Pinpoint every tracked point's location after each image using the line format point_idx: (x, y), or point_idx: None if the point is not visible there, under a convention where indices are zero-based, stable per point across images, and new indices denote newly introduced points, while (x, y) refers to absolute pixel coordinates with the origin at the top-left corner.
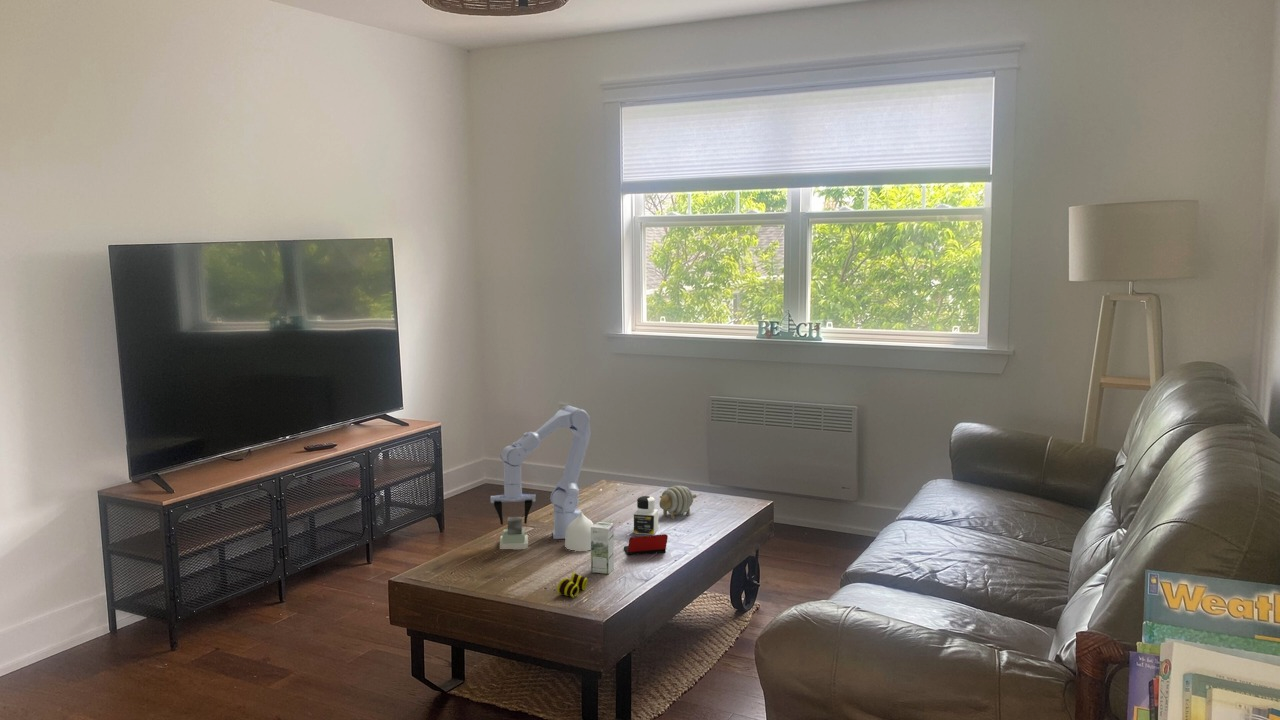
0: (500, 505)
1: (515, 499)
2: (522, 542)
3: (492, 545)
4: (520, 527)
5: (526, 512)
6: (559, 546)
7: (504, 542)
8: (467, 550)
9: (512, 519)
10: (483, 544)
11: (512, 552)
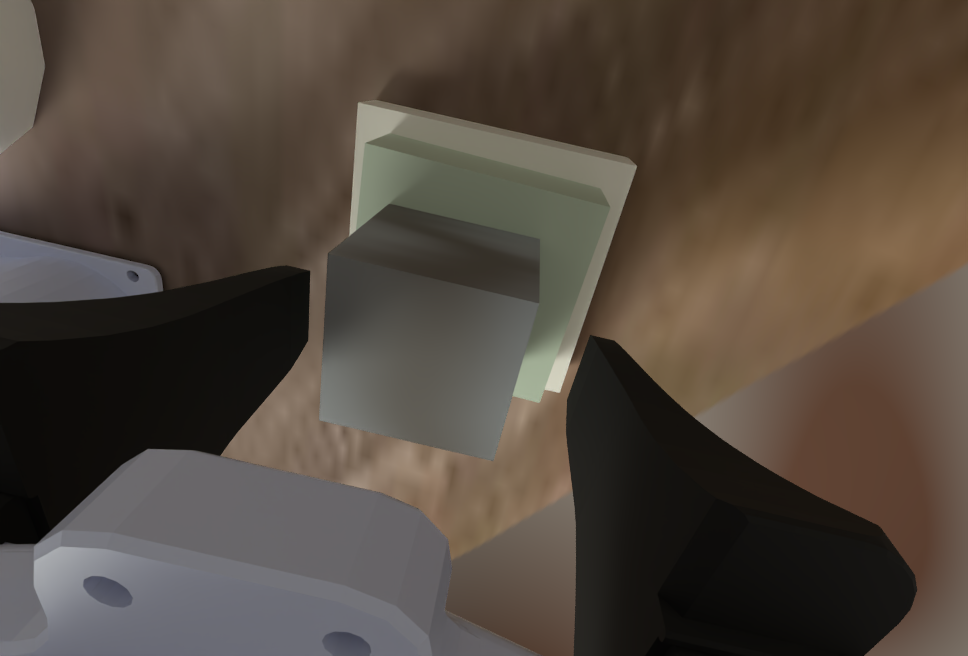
0: (753, 532)
1: (78, 514)
2: (406, 138)
3: (648, 299)
4: (376, 225)
5: (164, 304)
6: (91, 65)
7: (583, 184)
8: (901, 249)
9: (451, 355)
10: (706, 346)
11: (533, 32)
